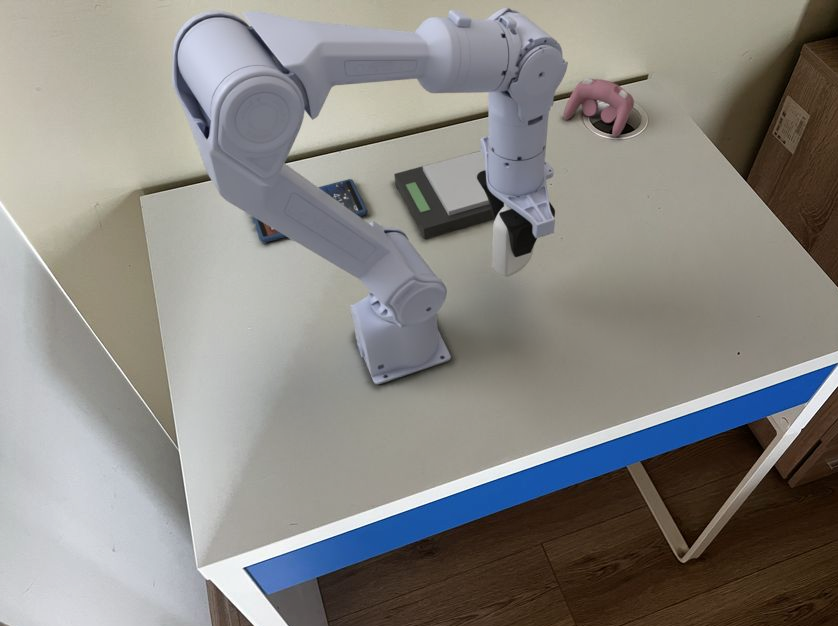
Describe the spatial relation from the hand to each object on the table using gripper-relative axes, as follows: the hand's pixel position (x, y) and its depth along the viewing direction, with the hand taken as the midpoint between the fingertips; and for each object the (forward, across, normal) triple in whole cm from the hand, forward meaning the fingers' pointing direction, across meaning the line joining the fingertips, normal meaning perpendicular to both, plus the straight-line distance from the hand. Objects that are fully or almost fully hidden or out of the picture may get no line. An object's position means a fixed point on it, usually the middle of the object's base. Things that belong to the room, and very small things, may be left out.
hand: (513, 238), depth 80 cm
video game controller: (+12, +28, -27) cm, 41 cm away
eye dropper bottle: (+4, 0, 0) cm, 4 cm away
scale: (+10, +20, 0) cm, 22 cm away
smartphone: (+10, +24, +20) cm, 33 cm away
